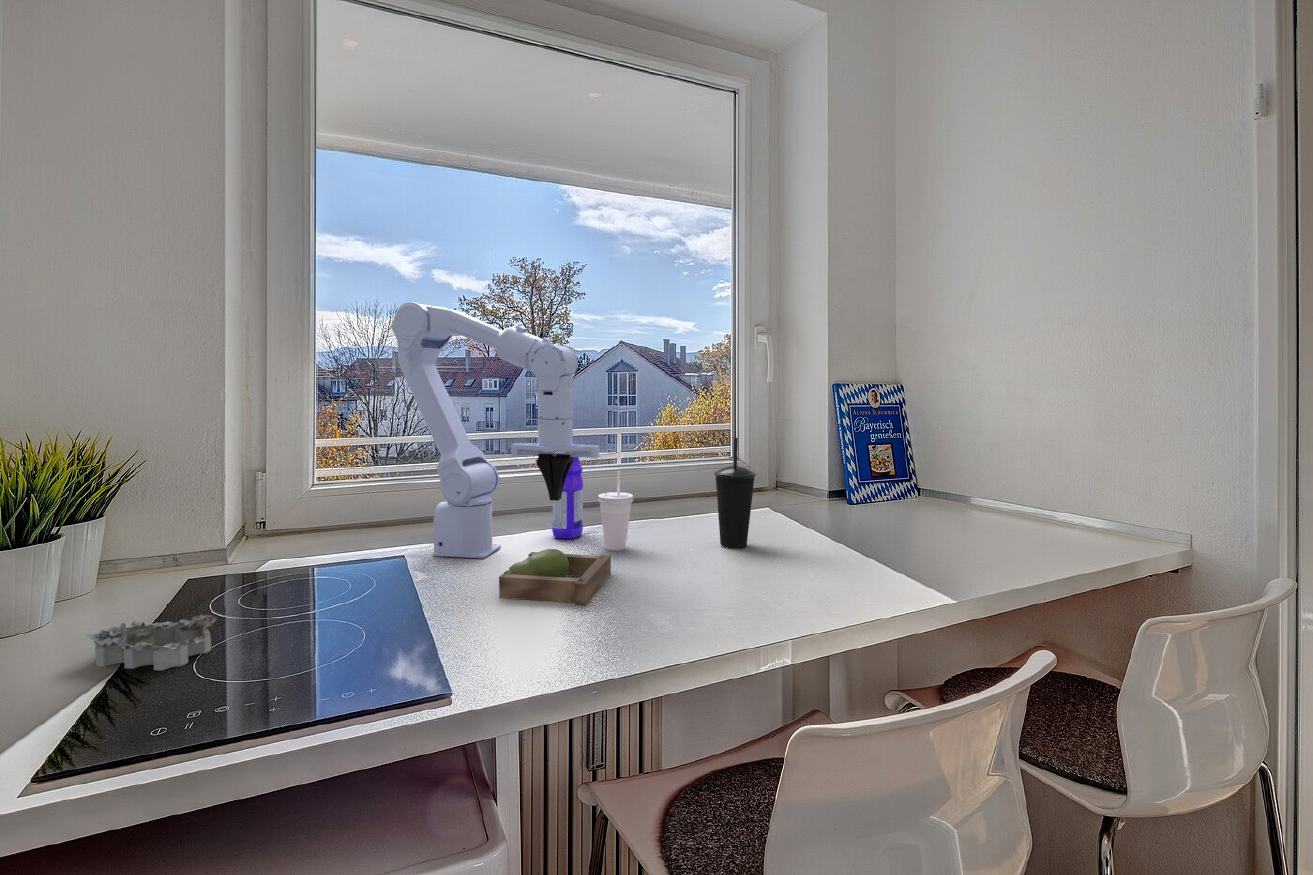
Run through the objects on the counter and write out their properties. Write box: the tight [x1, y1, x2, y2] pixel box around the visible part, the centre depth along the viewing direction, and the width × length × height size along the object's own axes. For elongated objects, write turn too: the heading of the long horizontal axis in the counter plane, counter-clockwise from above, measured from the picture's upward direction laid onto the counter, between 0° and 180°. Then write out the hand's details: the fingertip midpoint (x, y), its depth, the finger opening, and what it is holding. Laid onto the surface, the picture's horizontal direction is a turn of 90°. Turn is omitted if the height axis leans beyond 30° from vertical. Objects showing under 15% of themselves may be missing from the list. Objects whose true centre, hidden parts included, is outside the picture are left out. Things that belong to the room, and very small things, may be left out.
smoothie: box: [597, 470, 634, 552], centre depth 123 cm, size 6×6×14 cm
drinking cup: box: [713, 437, 757, 549], centre depth 125 cm, size 8×8×20 cm
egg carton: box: [85, 614, 218, 671], centre depth 76 cm, size 11×8×4 cm
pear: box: [503, 548, 569, 578], centre depth 102 cm, size 6×5×10 cm
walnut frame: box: [498, 551, 612, 606], centre depth 102 cm, size 13×15×3 cm
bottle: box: [551, 452, 584, 540], centre depth 132 cm, size 7×6×17 cm
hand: (555, 499), depth 114 cm, fingers closed
